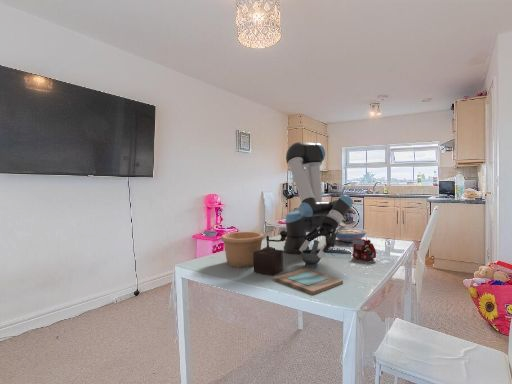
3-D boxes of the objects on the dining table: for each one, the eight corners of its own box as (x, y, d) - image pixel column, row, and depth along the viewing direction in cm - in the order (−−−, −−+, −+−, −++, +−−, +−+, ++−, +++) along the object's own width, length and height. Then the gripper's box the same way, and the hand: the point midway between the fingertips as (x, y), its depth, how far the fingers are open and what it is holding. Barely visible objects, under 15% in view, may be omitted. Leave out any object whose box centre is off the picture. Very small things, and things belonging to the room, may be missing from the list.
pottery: (217, 260, 161) (216, 233, 160) (256, 255, 168) (255, 230, 168) (227, 271, 140) (226, 241, 140) (271, 265, 148) (270, 237, 147)
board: (273, 279, 127) (273, 276, 127) (302, 271, 138) (302, 268, 138) (313, 294, 110) (313, 290, 110) (343, 283, 121) (343, 279, 121)
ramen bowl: (361, 246, 184) (361, 233, 184) (326, 243, 197) (325, 230, 196) (371, 239, 205) (371, 227, 205) (338, 236, 217) (337, 225, 217)
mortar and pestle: (314, 270, 139) (313, 244, 139) (297, 266, 146) (297, 241, 145) (326, 264, 147) (326, 240, 147) (310, 261, 154) (309, 238, 153)
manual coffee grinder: (273, 276, 132) (272, 235, 131) (252, 272, 138) (252, 233, 137) (290, 267, 144) (289, 230, 144) (270, 264, 151) (269, 228, 150)
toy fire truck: (372, 262, 150) (371, 241, 149) (349, 258, 159) (349, 238, 159) (378, 259, 154) (378, 239, 154) (356, 255, 164) (356, 236, 163)
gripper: (312, 213, 162) (290, 245, 155) (346, 218, 140) (322, 254, 133) (320, 222, 164) (298, 253, 158) (355, 228, 142) (331, 264, 136)
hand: (309, 254), depth 145 cm, fingers open, 13 cm apart
